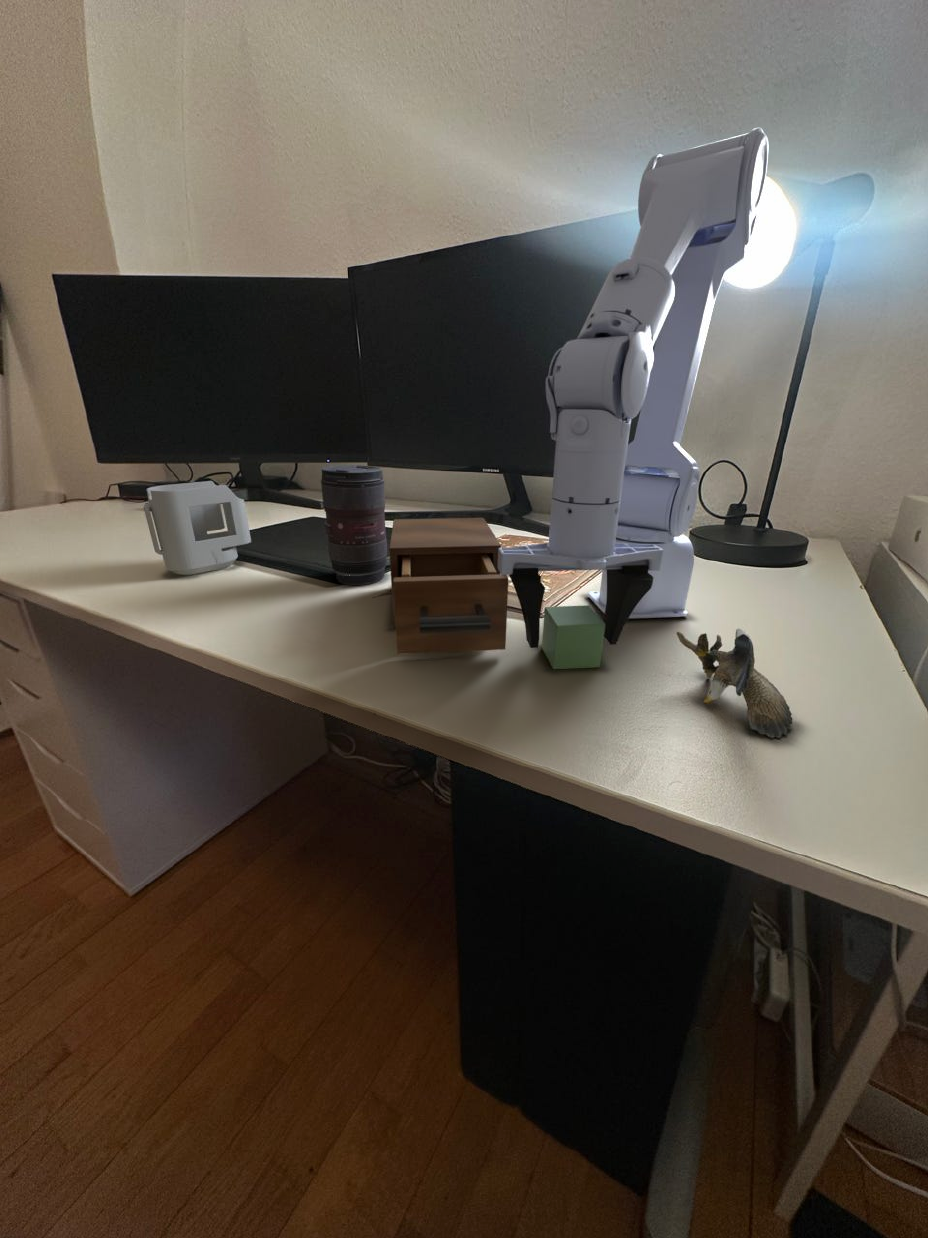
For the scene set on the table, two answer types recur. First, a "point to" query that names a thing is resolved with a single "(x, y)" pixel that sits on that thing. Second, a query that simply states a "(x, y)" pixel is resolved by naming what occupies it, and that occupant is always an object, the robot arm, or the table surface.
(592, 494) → the robot arm
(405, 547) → the cabinet
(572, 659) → the block
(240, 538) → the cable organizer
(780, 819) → the table surface
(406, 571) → the drawer
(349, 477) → the camera lens
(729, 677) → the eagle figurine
